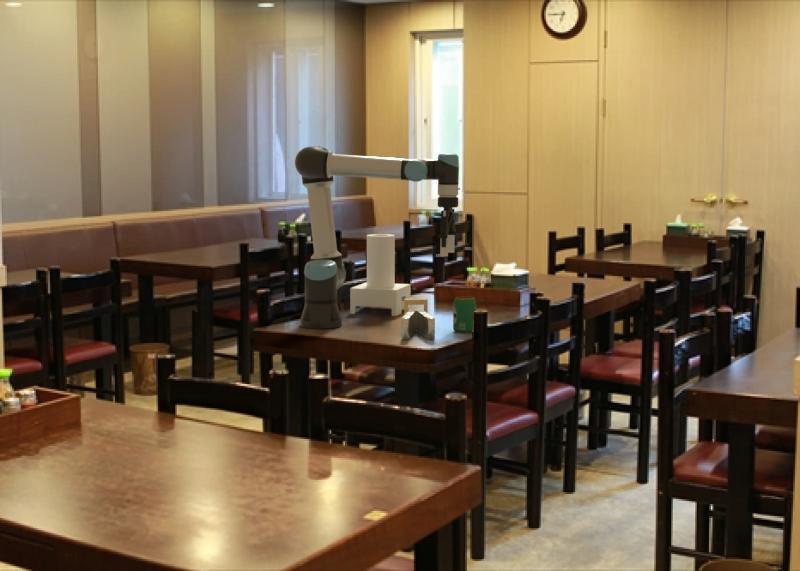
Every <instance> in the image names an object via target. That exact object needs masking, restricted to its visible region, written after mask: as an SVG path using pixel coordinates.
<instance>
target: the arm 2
mask: <svg viewBox="0 0 800 571" xmlns="http://www.w3.org/2000/svg"><path fill="white" fill-rule="evenodd" d="M435 323H436V318H435V317H434V316H432V315H431V314H429V313H426V312H425V311H424V310H423V311H417V330H416V331H417V332H418V333H419V334H421V335H422V336H423V337H424V338H426V339H427V340H435V339H436V324H435Z"/></svg>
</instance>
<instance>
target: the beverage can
mask: <svg viewBox="0 0 800 571" xmlns="http://www.w3.org/2000/svg"><path fill="white" fill-rule="evenodd" d="M452 306H453V309H452V310H453V311H452V316H453V317H452V319H453V321H452V322H453V323H452V328H453V329H452V330H453V331H454V333H456V334H472V330H473V312H474V311H476V312H477V301H476V299H475V297H473V296H456V297H454V300H453V303H452Z"/></svg>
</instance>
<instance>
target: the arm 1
mask: <svg viewBox="0 0 800 571" xmlns="http://www.w3.org/2000/svg"><path fill="white" fill-rule="evenodd" d="M415 332H416V330H415V311H409V310H408V312H407V313H406V314H405V315H404V314H403V316H402V317H401V340H409V339H410V338H411V337H412V336H413V334H414V333H415Z"/></svg>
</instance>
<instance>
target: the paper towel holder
mask: <svg viewBox="0 0 800 571" xmlns="http://www.w3.org/2000/svg"><path fill="white" fill-rule="evenodd" d="M395 237H396V235H395V234H391V233H390V234H389V233H383V234H382V233H376V234H375V233H374V234H372V233H370V234H367V235H366V282H362V283H361V284H360V283H359V284H358V285H355V286H352V287H350V288H349V292H350V294H349V296H350V297H349V299H350V302H349V305H350V307H349V308H350V310H349V311H350V315H355V314H356V312H357V307H360V310H362V309H364V308H390V309H391V316H392V317H397V316H399V315H401V314H402V302H404V299H412V297H411V284H410V283H395V282H396V280H395V276H396V275H395V274H396V273H395V272H396V268H395V264H396V254H395V253H396V252H395V251H396V250H395V249H396V247H395V246H396V244H395V243H396V242H395V241H396V240H395V239H396V238H395ZM411 306H412V305H408V311H409V310H412V308H411Z"/></svg>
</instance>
